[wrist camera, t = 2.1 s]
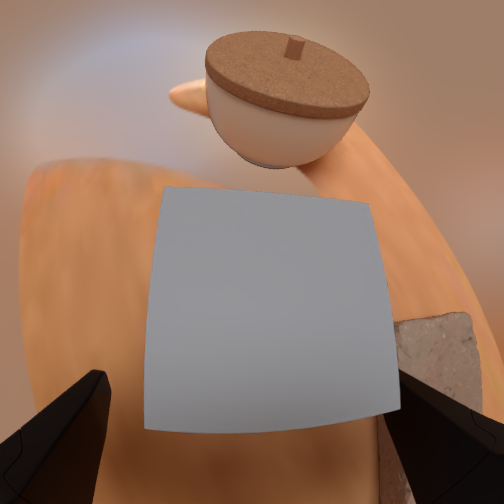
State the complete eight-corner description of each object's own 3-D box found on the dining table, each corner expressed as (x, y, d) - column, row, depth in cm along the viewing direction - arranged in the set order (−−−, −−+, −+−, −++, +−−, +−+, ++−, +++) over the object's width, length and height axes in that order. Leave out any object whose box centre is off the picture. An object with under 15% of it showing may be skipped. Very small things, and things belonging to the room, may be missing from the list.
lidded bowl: (289, 98, 30) (314, 16, 20) (356, 175, 26) (411, 86, 16) (183, 116, 26) (185, 16, 16) (236, 213, 22) (262, 86, 12)
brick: (360, 332, 19) (398, 316, 15) (437, 318, 21) (475, 301, 17) (372, 524, 12) (405, 543, 8) (448, 484, 14) (484, 491, 10)
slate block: (269, 395, 16) (400, 409, 5) (188, 395, 16) (144, 428, 4) (267, 319, 18) (368, 203, 7) (189, 317, 18) (164, 186, 6)
